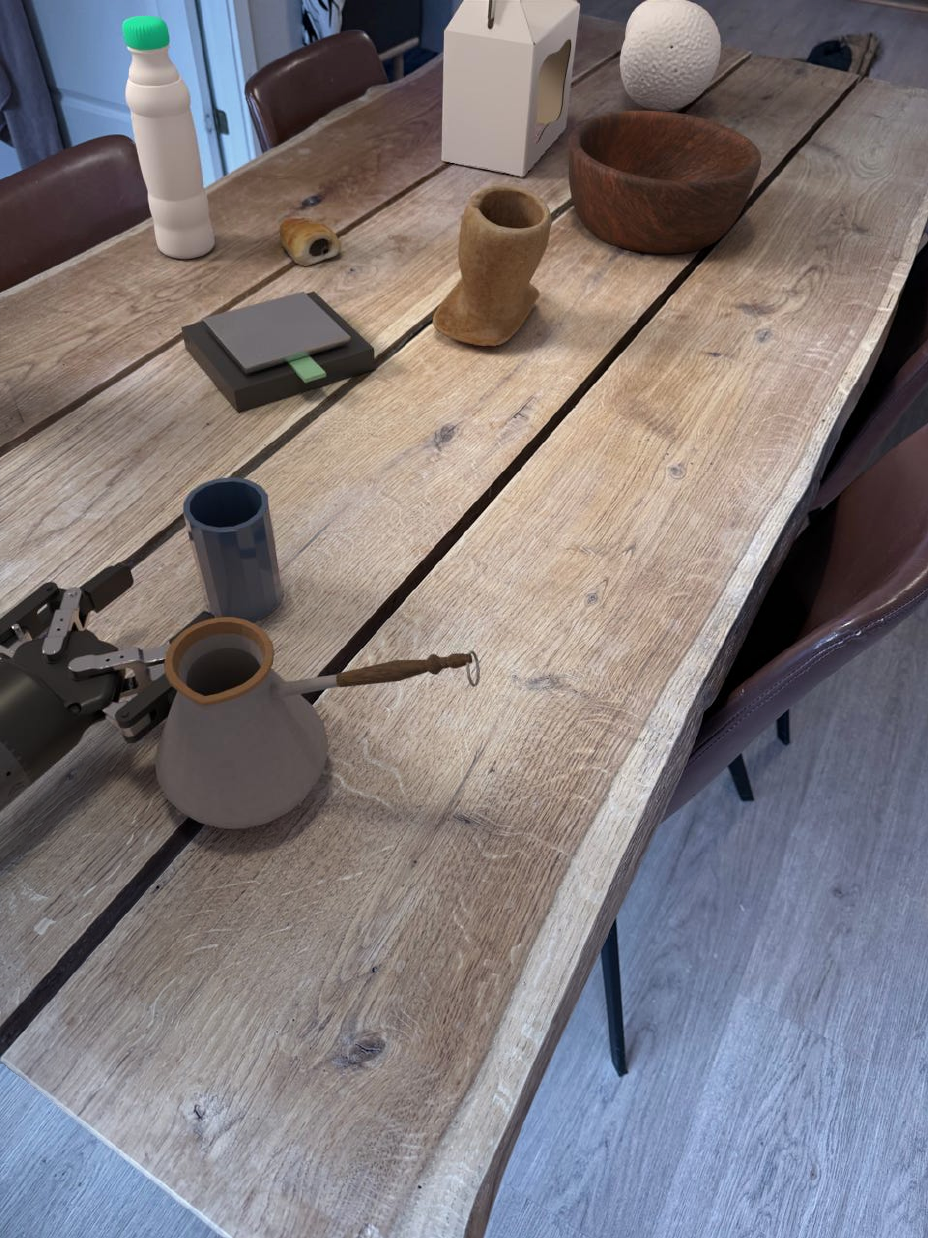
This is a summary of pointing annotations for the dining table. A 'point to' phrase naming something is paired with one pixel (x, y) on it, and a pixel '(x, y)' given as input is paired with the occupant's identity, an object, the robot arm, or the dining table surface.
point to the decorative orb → (669, 53)
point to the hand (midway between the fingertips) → (169, 595)
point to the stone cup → (495, 265)
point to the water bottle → (166, 142)
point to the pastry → (308, 241)
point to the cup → (234, 548)
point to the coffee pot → (251, 723)
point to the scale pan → (275, 332)
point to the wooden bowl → (659, 179)
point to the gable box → (506, 81)
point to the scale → (282, 377)
